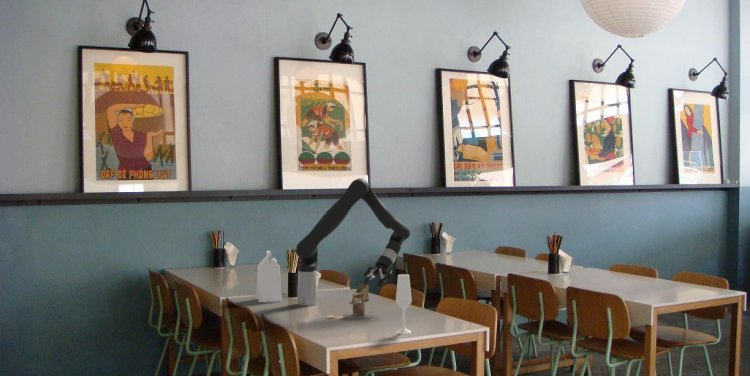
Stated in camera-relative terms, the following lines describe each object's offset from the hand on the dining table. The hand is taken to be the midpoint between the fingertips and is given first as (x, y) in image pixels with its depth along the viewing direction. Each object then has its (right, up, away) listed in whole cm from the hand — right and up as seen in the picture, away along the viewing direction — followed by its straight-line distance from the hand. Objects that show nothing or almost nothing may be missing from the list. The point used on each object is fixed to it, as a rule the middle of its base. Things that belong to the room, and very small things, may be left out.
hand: (371, 285), depth 349 cm
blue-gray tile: (-6, -13, -7) cm, 16 cm away
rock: (-6, -13, +35) cm, 38 cm away
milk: (-55, -13, +40) cm, 69 cm away
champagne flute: (+14, -14, -44) cm, 48 cm away
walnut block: (-6, -13, -7) cm, 16 cm away
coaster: (-17, -13, -12) cm, 25 cm away
